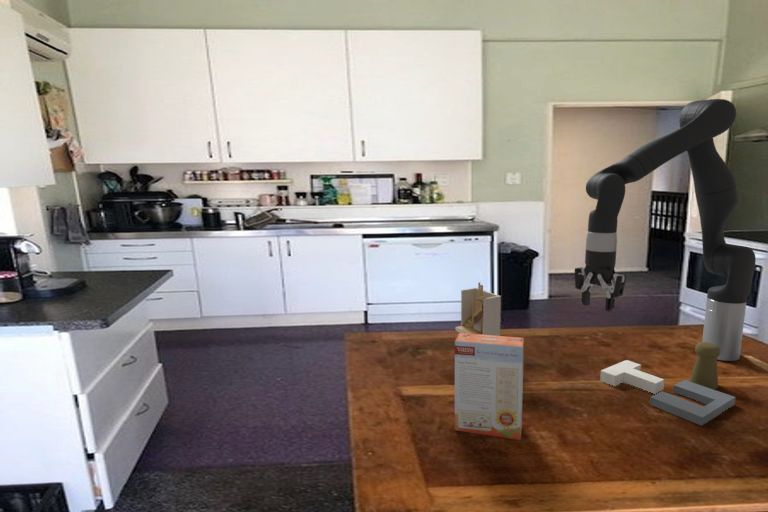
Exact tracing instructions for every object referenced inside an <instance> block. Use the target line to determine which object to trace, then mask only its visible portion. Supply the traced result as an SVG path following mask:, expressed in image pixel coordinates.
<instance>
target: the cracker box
mask: <svg viewBox="0 0 768 512" xmlns="http://www.w3.org/2000/svg"><path fill="white" fill-rule="evenodd" d="M524 341H525V339H524V337H516V336H505V335H500V336H494V335H482V334H470V333H460V332H458V334H457V337H456V338H455V341H454V430H455V431H456V432H465V433H470V434H478V435H485V436H491V437H496V438H501V439H502V438H503V439H510V440H517V441H521V439H522V430H523V429H522V427H523V397H524V396H523V395H524V394H523V389H524V388H523V386H524V385H523V384H524V347H525V346H524V344H525V342H524Z"/></svg>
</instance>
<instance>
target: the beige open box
mask: <svg viewBox="0 0 768 512" xmlns="http://www.w3.org/2000/svg"><path fill="white" fill-rule="evenodd" d="M460 295H461V297H460V304H461V305H460V310H461V311H460V325H459V326H455V331H456V332H458V333H470V334H482V335H494V336H501V309H502V308H501V307H502V306H501V305H502V302H501V301H502V299H501V298H502V295H499V294H495V293H492V292H489V291H486V290H484V285H483V284H481V282H478V287H472V288H467V289H461V292H460Z"/></svg>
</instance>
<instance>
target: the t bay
mask: <svg viewBox="0 0 768 512" xmlns="http://www.w3.org/2000/svg"><path fill="white" fill-rule="evenodd" d="M673 392H675V393H674V394H676V393H677V394H676V395H679V394H680V396H681V395H683V396H682V397H684V396H686V397H685V398H687V397H688V398H687V399H689V398H691V399H690V400H692V399H694V400H693V401H695V400H696V401H695V402H698V401H699V402H698V403H700V402H701V404H704V406H703V405H700V404H697V403H695V402H692V401H689V400H686V399H684V398H682V397H679V396H676V395H674V394H672V393H668V392H666V391H664V390H663V391H661V392H659V393H657V394H655V395H654V394H653V395H651V396H650V400H649V405H650V406H652V407H654V406H655V407H654V408H656V407H657V409H659V410H661V409H662V411H664V412H667V413H669V414H671V415H673V416H677V417H679V418H682V419H684V420H686V421H689V422H691V423H694V424H696V425H699V426H701V427H702V426H704V425H705V424H707V423H708V422H710V421H712V420H714V419H715V418H716V417H718V416H719V415H721V414H722V412H723V413H724V412H725V410H726V411H728V408H729V409H730V408H731V407H734V406H735V402H736V396H733V395H731V394H727V393H725V392H721V391H719V390H717V389H710V388H707V387H704V386H701V385H698V384H695V383H693V382H690V380H687V379H683V380H682V381H679V382H677V383H676V384H674V385H673Z"/></svg>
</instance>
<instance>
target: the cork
mask: <svg viewBox="0 0 768 512" xmlns="http://www.w3.org/2000/svg"><path fill="white" fill-rule="evenodd" d="M694 351H695V353H696V358H695V361H694V365H693V367H692V368H693V369H692V372H691V376H690V380H689V381H690V382H693V383H695V384H698V385H701V386H704V387H707V388H710V389H713V390H717V389H718V388H719V383H718V382H719V378H718V375H719V374H718V363H717V362H718V359H717V357H719V355H720V349H719V347H718V346H717V345H715V344H713V343H708V342H702V341H700V342H698V343H697V344H696V345H695V347H694ZM716 388H717V389H716Z"/></svg>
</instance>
